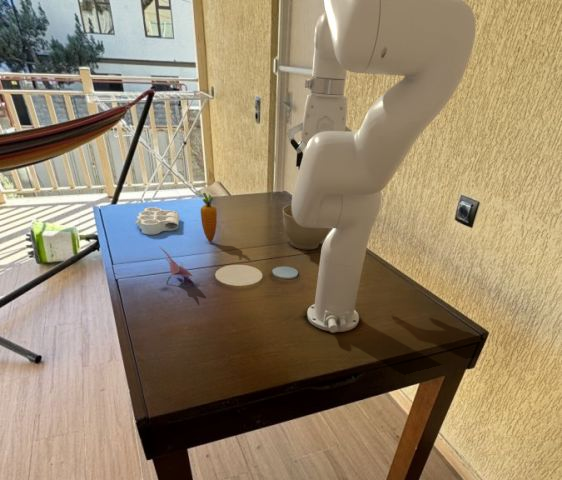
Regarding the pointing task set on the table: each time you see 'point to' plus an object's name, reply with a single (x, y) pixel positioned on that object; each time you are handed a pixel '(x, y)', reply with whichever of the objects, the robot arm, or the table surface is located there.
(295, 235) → the planter bowl
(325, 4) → the robot arm
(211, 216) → the carrot
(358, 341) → the table surface
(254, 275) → the dessert plate
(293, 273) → the blue-grey cylinder
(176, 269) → the lily
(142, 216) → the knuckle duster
